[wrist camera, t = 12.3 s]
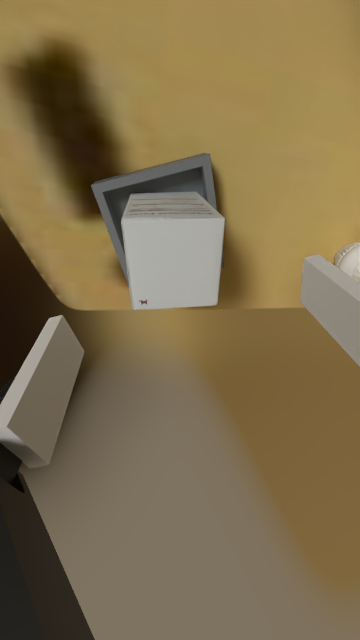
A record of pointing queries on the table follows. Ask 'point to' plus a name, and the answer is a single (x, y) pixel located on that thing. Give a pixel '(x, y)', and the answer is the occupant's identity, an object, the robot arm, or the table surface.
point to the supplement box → (172, 250)
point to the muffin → (349, 260)
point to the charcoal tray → (151, 191)
